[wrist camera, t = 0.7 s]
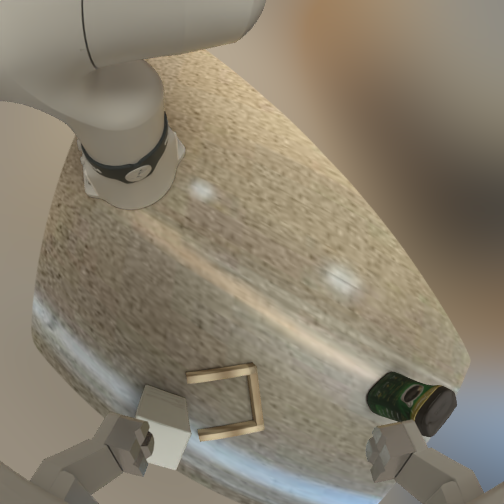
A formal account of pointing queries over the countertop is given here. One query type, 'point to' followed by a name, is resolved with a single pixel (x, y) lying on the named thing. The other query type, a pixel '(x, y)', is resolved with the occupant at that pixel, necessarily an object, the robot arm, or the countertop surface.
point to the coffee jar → (412, 402)
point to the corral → (253, 384)
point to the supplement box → (165, 425)
